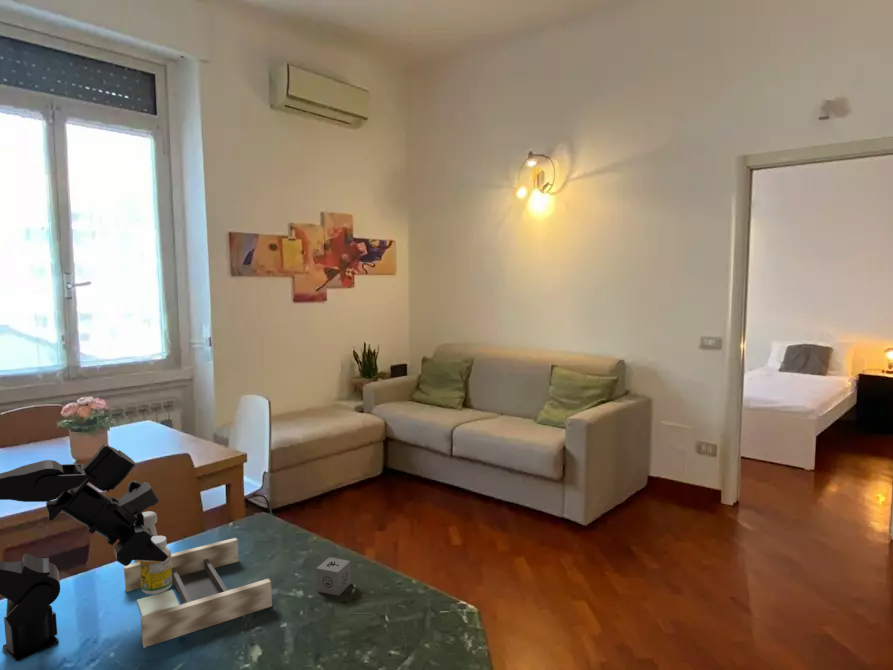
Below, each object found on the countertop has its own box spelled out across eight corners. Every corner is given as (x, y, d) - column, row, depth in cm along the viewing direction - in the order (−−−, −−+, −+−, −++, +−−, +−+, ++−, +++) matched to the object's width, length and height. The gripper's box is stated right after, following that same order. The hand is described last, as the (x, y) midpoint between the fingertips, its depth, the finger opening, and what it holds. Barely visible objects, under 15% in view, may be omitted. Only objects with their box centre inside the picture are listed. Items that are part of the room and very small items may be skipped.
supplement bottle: (173, 590, 115) (171, 542, 114) (141, 597, 112) (139, 548, 111) (171, 578, 119) (169, 531, 118) (141, 584, 117) (138, 537, 116)
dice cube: (330, 579, 127) (329, 557, 126) (351, 584, 125) (350, 561, 124) (317, 591, 122) (316, 568, 121) (338, 596, 120) (338, 572, 120)
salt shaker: (169, 565, 133) (166, 508, 132) (154, 578, 128) (151, 519, 126) (144, 564, 134) (141, 508, 133) (128, 577, 128) (124, 518, 127)
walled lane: (143, 647, 104) (141, 620, 103) (125, 589, 123) (123, 565, 123) (271, 606, 117) (271, 581, 116) (236, 558, 136) (235, 537, 136)
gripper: (135, 488, 104) (205, 534, 111) (121, 461, 119) (183, 503, 126) (85, 543, 100) (160, 587, 107) (77, 508, 115) (143, 548, 122)
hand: (163, 553), depth 116 cm, fingers closed on supplement bottle, 5 cm apart
